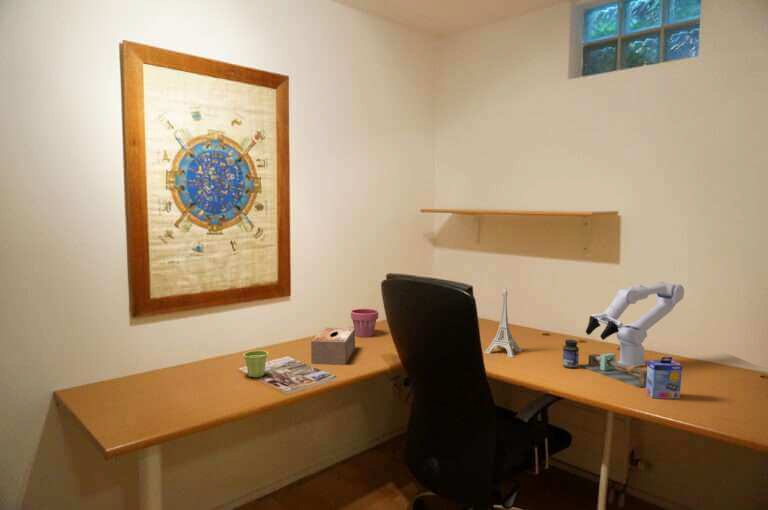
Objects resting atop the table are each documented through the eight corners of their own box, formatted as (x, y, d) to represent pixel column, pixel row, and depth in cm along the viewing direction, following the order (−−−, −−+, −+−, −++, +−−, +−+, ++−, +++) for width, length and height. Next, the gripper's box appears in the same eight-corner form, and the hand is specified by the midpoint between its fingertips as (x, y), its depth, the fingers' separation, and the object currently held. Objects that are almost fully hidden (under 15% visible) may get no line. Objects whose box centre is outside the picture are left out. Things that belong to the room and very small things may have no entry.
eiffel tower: (512, 357, 226) (514, 290, 223) (484, 353, 233) (485, 288, 230) (521, 350, 237) (523, 286, 235) (494, 346, 244) (495, 284, 242)
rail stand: (581, 366, 213) (581, 354, 212) (598, 363, 217) (599, 351, 216) (640, 387, 187) (640, 373, 187) (658, 384, 192) (659, 370, 191)
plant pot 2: (382, 333, 269) (382, 309, 268) (371, 339, 256) (371, 314, 255) (358, 331, 274) (358, 307, 273) (346, 336, 262) (345, 312, 261)
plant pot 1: (246, 380, 194) (246, 358, 193) (241, 373, 202) (241, 352, 201) (271, 377, 198) (270, 355, 197) (265, 370, 206) (264, 349, 206)
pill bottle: (579, 369, 209) (580, 343, 208) (563, 368, 210) (564, 342, 209) (576, 365, 215) (577, 339, 214) (561, 364, 216) (562, 338, 215)
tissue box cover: (345, 365, 214) (344, 342, 213) (311, 364, 216) (311, 341, 215) (354, 349, 240) (354, 328, 239) (324, 348, 241) (324, 327, 240)
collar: (600, 369, 206) (600, 354, 206) (610, 367, 209) (611, 353, 208) (604, 370, 204) (604, 356, 204) (614, 368, 207) (615, 354, 206)
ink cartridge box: (652, 398, 177) (654, 357, 175) (644, 393, 182) (646, 353, 181) (681, 399, 176) (683, 358, 175) (672, 393, 182) (674, 353, 181)
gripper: (595, 301, 216) (576, 324, 212) (624, 308, 202) (604, 333, 199) (603, 312, 218) (584, 335, 215) (632, 320, 205) (612, 345, 202)
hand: (594, 335), depth 207 cm, fingers open, 7 cm apart
